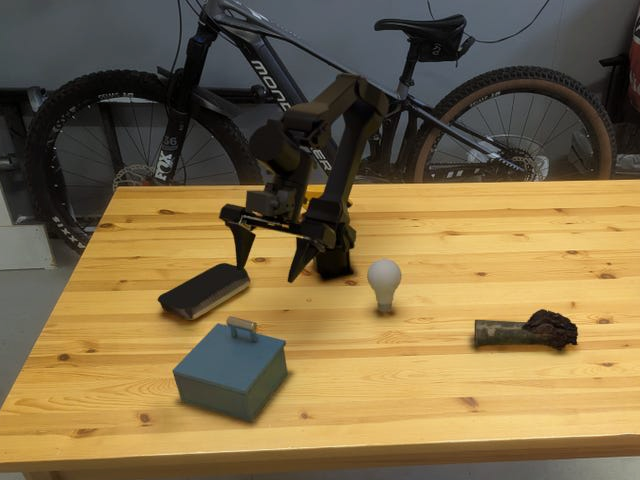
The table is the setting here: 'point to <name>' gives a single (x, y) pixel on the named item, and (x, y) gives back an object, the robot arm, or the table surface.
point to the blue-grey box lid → (230, 356)
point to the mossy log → (528, 331)
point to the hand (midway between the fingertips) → (264, 276)
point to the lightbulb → (384, 282)
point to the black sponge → (204, 291)
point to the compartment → (231, 400)
